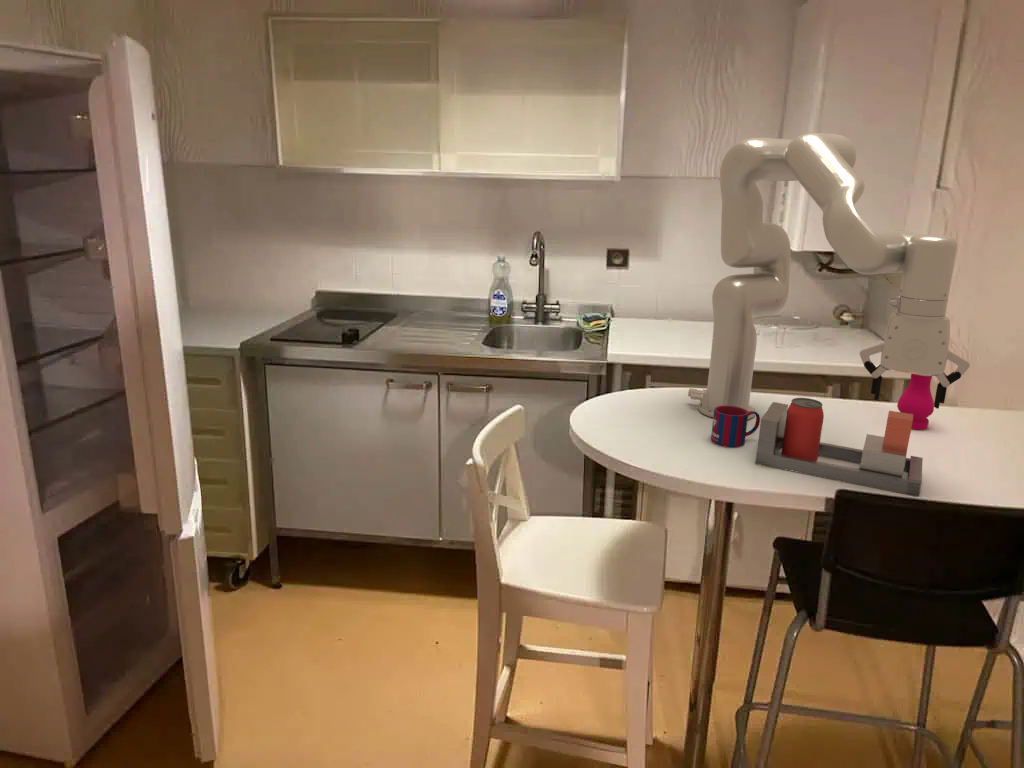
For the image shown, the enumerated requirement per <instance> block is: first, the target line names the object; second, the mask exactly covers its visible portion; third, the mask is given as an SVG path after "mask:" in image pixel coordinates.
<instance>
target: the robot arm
mask: <svg viewBox="0 0 1024 768" xmlns="http://www.w3.org/2000/svg"><path fill="white" fill-rule="evenodd" d="M856 160H857V151H856V148H855V145H854V144H853V142H852V141H851V140H850V139H849V138H848V137H846V136H844V135H842V134H839V133H825V132H824V133H823V132H808V133H803V134H800V135H799V136H796V137H795V138H793V139H790V138H789V139H788V138H776V137H775V138H773V137H751V138H750V137H749V138H746V139H742V140H740V141H737V142H736V143H734V144H733V145H732V146H731V147H730V148H729V149H728V150H727V151H726V153H725V154H724V156H723V158H722V161H721V165H720V169H719V187H720V194H721V220H720V221H721V226H720V254H721V255H720V256H721V259H722V261H723V263H724V264H725V265H726V266H728V267H730V268H736V269H745V268H747V269H750V268H753V273H740V274H739V273H738V274H732V275H728V276H726V277H725V276H724V278H722V279H721V280H719V281H718V282H717V283H716V285H715V286H714V288H713V290H712V298H711V300H712V301H711V302H712V310H713V311H712V313H713V331H712V339H711V340H712V341H711V350H710V351H711V352H710V358H709V359H710V361H709V370H708V378H707V388H706V389H702V390H701V389H700V390H699V389H697V388H689V389H688V393H687V396H688V397H690V399H691V400H696V401H697V400H698V401H700V402H699V403H698V406H697V407H698V408H697V410H698V411H699V412H700V413H701V414H702V415H705V416H707V417H711V418H713V417H714V409H715V407H717V406H723V405H728V406H736V407H740V408H743V409H745V410H747V411H748V412H749V411H755V412H756V410H755V408H754V407H753V406H751V405H750V401H751V400H750V398H751V390H752V382H753V377H754V375H753V374H754V366H755V358H756V352H757V351H756V350H757V341H758V337H757V330H756V327H755V324H754V321H753V318H755V317H764V316H771V315H775V314H777V313H779V312H780V311H781V310H783V309H784V307H785V305H786V303H787V301H788V298H789V291H790V274H791V273H790V271H791V269H790V268H791V241H790V238H789V236H788V233H787V231H786V230H785V229H784V228H783V227H782V226H780V225H779V224H776V223H772V222H764V220H763V219H764V218H763V216H764V214H763V213H764V203H763V197H762V195H761V192H760V190H759V188H758V186H757V184H756V183H757V182H759V181H768V182H774V181H775V182H796V181H797V182H798V183H799V184H800V185H801V186H802V187H803V189H804V190H805V191H806V192H807V194H808V196H810V198H811V199H812V200H813V201H814V203H816V205H817V206H818V207H819V209H820V210H821V212H822V227H823V231H824V236H825V237H826V240H827V242H828V243H829V245H830V247H831V248H832V249H833V251H834V252H835V253H836V254H837V256H838V257H839V258H840V259H841V260H842V262H843V263H845V265H846V266H847V267H848V268H850V269H851V270H853V271H854V272H856V273H858V274H861V275H879V274H880V275H881V274H893V273H894V274H895V273H897V274H898V273H902V275H901V281H900V287H899V293H898V294H899V295H898V296H896V297H893V298H892V297H890V298H889V299H888V304H887V305H888V306H889V307H893V308H895V309H896V311H894V312H892V313H891V315H890V317H889V319H888V322H887V326H886V329H885V334H884V338H883V342H882V343H879V344H876V345H873V346H870V347H868V348H864V349H862V350H860V351H859V356H860V359H861V361H862V364H863V367H864V368H865V369H866V370H867V372H868V373H869V374H870V376H871V377H872V383H871V390H870V394H871V395H874V397H873V400H874V401H879V399H880V395H881V394H880V393H881V388H882V381H883V376H882V375H883V374H884V373H885V372H886V371H890V372H897V373H902V374H903V373H904V374H910V375H911V374H920V375H928V376H932V377H935V378H936V379H937V381H938V383H936V384H937V385H936V390H935V396H934V409H939V408H940V404H945V399H946V394H947V389H948V387H949V386H950V385H951V384H953V383H955V382H956V381H958V380H960V379H961V378H962V376H963V375H964V374H965V373H966V372H967V370H968V369H969V368H970V367H971V366H970V362H969V361H968V360H966V359H964V358H963V357H960V356H959V355H957V354H956V353H954V352H952V351H951V350H950V349H949V347H950V346H949V345H950V335H951V322H950V321H951V320H950V318H949V317H948V316H946V314H947V313H946V312H947V306H948V301H949V294H950V290H951V284H952V278H953V272H954V268H955V261H956V255H957V250H958V249H957V247H958V242H957V240H956V239H955V238H954V237H952V236H948V235H944V234H941V235H940V234H920V233H917V232H912V231H909V230H902V229H901V230H899V229H898V230H897V229H896V230H894V229H893V230H892V229H891V230H889V229H888V230H887V229H884V230H883V229H882V230H873V229H872V228H871V227H870V225H868V224H867V223H866V222H865V220H863V218H862V217H861V216H860V214H859V213H858V211H857V210H856V208H855V204H856V203H857V202H858V201H859V200H860V198H861V197H862V195H863V194H864V191H865V182H864V181H863V178H861V177H860V175H858V173H857V172H856V171H855V170H854V169H853V168H854V166H855V164H856ZM879 353H881V354H880V364H879V365H877V366H876V365H875V364H874V363H873V362H872V360H871V358H870V356H873V355H875V354H879ZM947 361H950V362H951V363H953V364H955V365H956V366H957V367H956V369H955V370H954V371H953V372H951V373H949V374H946V372H945V370H946V367H947ZM754 417H756V415H755V414H751V415H749V416H748V420H750V419H752V418H754Z"/></svg>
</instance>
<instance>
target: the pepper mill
mask: <svg viewBox="0 0 1024 768" xmlns="http://www.w3.org/2000/svg"><path fill="white" fill-rule="evenodd" d="M932 379H933V376H928V375H920V374H911V373H910V380H909V383H908V385H907V387H906V389H905V390H904V391H903V393H902V394H901V396H900V397H899V399H898V400H897V401H898V402H897V405H896V407H897V409H898V412H901V413H908V414H913V422H912V427H911V430H914V431H924V430H927V429H928V427H929V423H930V420H929V418H928V417H930V416H931V415H933V413H934V411H935V407H934V402H935V400H934V398H933V395H932V391H931V381H932Z"/></svg>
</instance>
